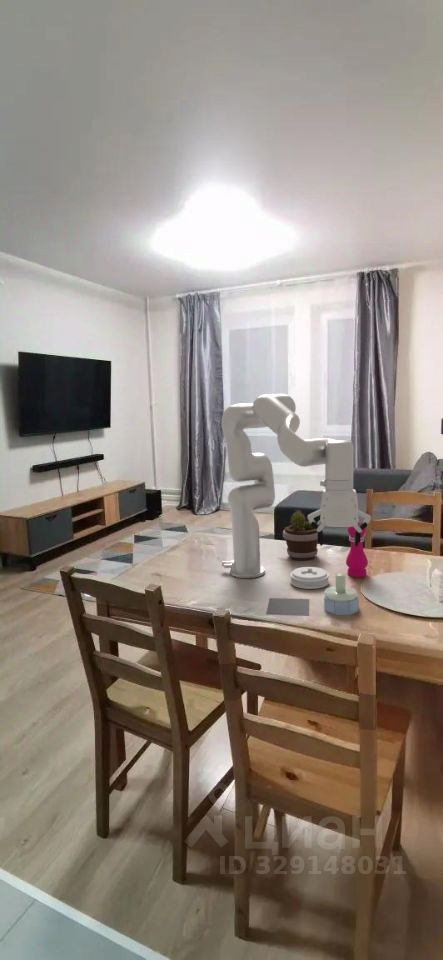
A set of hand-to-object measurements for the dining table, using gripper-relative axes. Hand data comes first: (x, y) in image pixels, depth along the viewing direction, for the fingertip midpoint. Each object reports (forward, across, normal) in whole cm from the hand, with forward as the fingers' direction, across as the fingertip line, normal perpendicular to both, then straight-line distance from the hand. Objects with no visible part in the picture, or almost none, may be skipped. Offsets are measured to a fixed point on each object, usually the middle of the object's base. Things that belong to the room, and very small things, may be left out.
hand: (338, 544), depth 137 cm
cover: (+15, +1, -1) cm, 15 cm away
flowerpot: (+20, -11, +49) cm, 54 cm away
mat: (+19, -14, -1) cm, 24 cm away
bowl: (+19, +1, -1) cm, 19 cm away
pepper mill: (+20, +8, +29) cm, 36 cm away
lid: (+20, -8, +19) cm, 29 cm away
